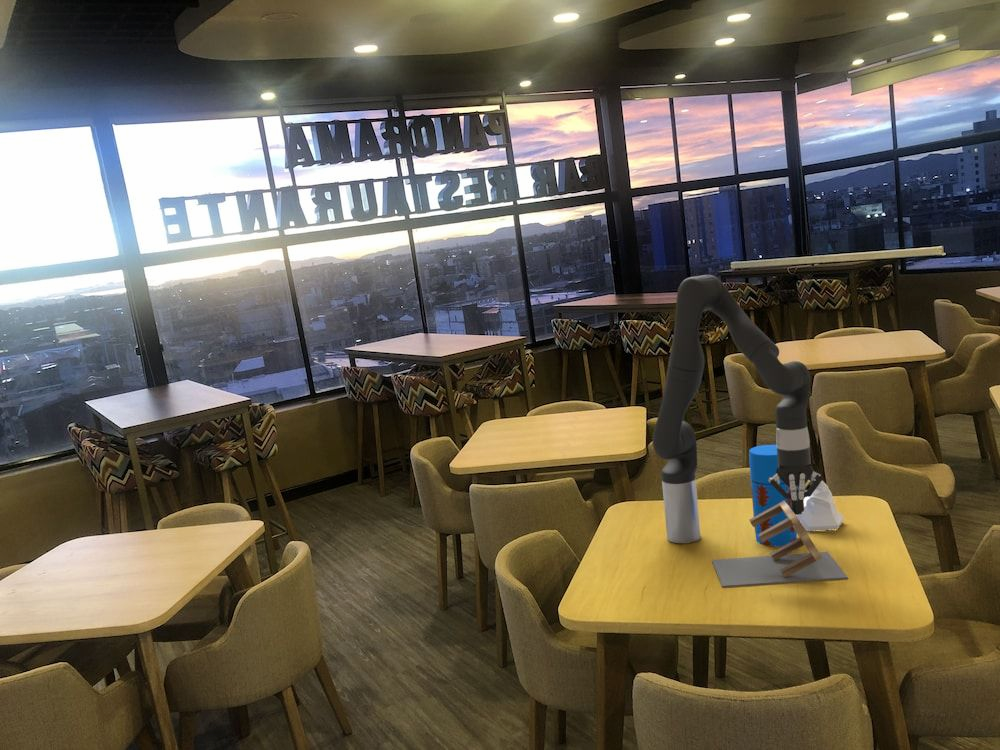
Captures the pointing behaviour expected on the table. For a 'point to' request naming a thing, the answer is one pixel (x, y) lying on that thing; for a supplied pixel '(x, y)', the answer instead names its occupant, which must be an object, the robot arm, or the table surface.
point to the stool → (791, 546)
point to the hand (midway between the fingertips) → (797, 513)
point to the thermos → (768, 493)
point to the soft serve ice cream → (820, 511)
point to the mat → (774, 570)
